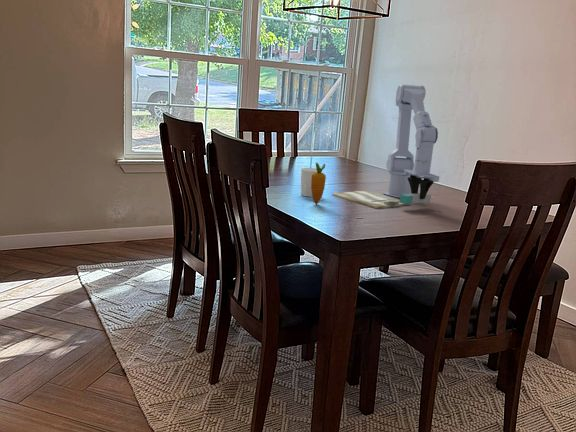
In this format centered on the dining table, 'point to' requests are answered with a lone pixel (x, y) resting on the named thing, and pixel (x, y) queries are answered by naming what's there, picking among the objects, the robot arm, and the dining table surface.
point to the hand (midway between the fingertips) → (418, 197)
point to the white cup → (307, 181)
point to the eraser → (414, 198)
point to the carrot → (318, 183)
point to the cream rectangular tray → (370, 199)
